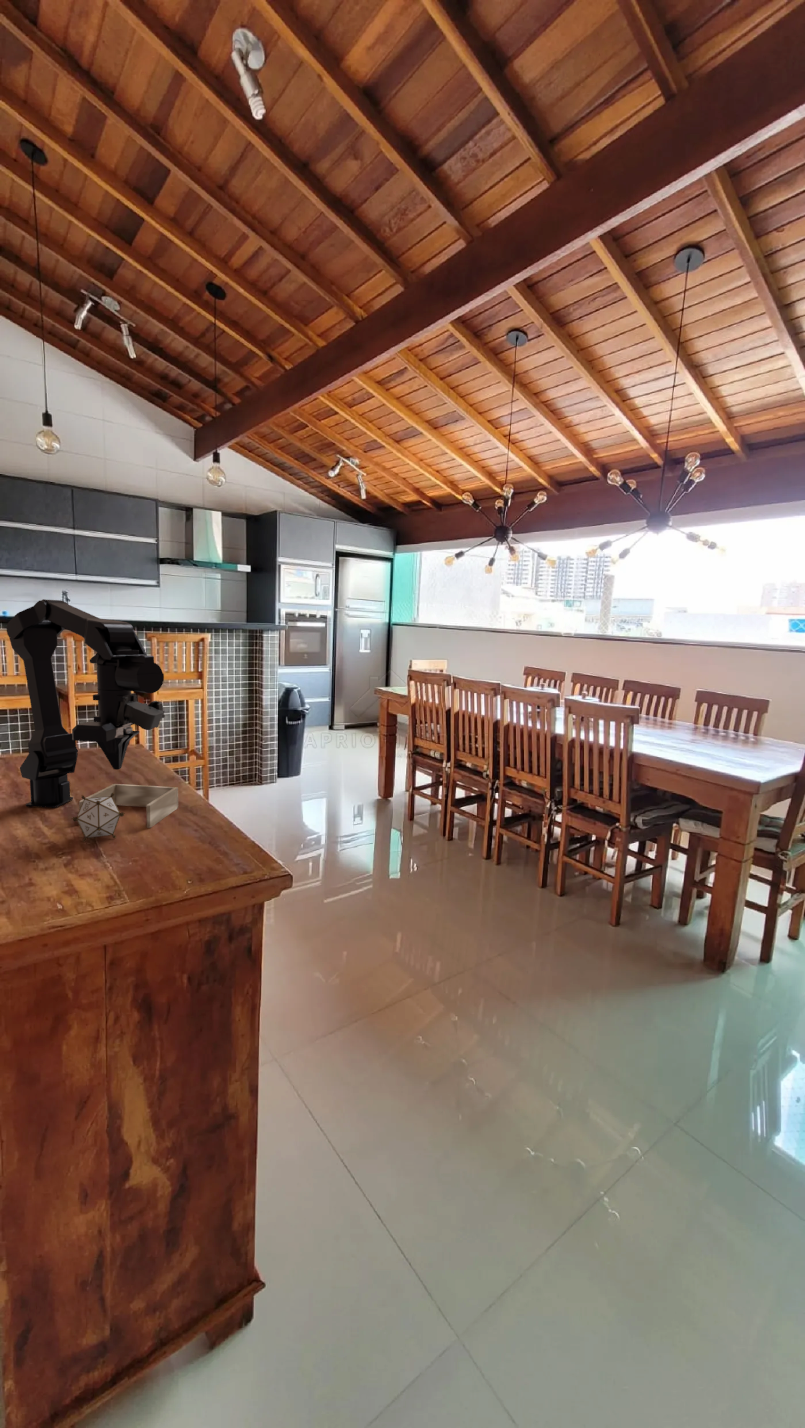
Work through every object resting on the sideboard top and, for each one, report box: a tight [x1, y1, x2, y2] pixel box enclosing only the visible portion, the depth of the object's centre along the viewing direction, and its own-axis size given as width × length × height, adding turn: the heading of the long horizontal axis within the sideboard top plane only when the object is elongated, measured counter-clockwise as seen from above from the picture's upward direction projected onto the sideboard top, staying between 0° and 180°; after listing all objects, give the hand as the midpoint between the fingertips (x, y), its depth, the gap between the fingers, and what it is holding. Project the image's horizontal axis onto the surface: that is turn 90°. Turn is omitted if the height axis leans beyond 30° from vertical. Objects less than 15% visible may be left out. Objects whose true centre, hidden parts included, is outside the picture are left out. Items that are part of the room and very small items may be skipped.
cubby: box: [78, 783, 179, 829], centre depth 119 cm, size 14×13×4 cm
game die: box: [71, 792, 126, 843], centre depth 106 cm, size 9×8×10 cm
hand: (117, 769), depth 112 cm, fingers closed
